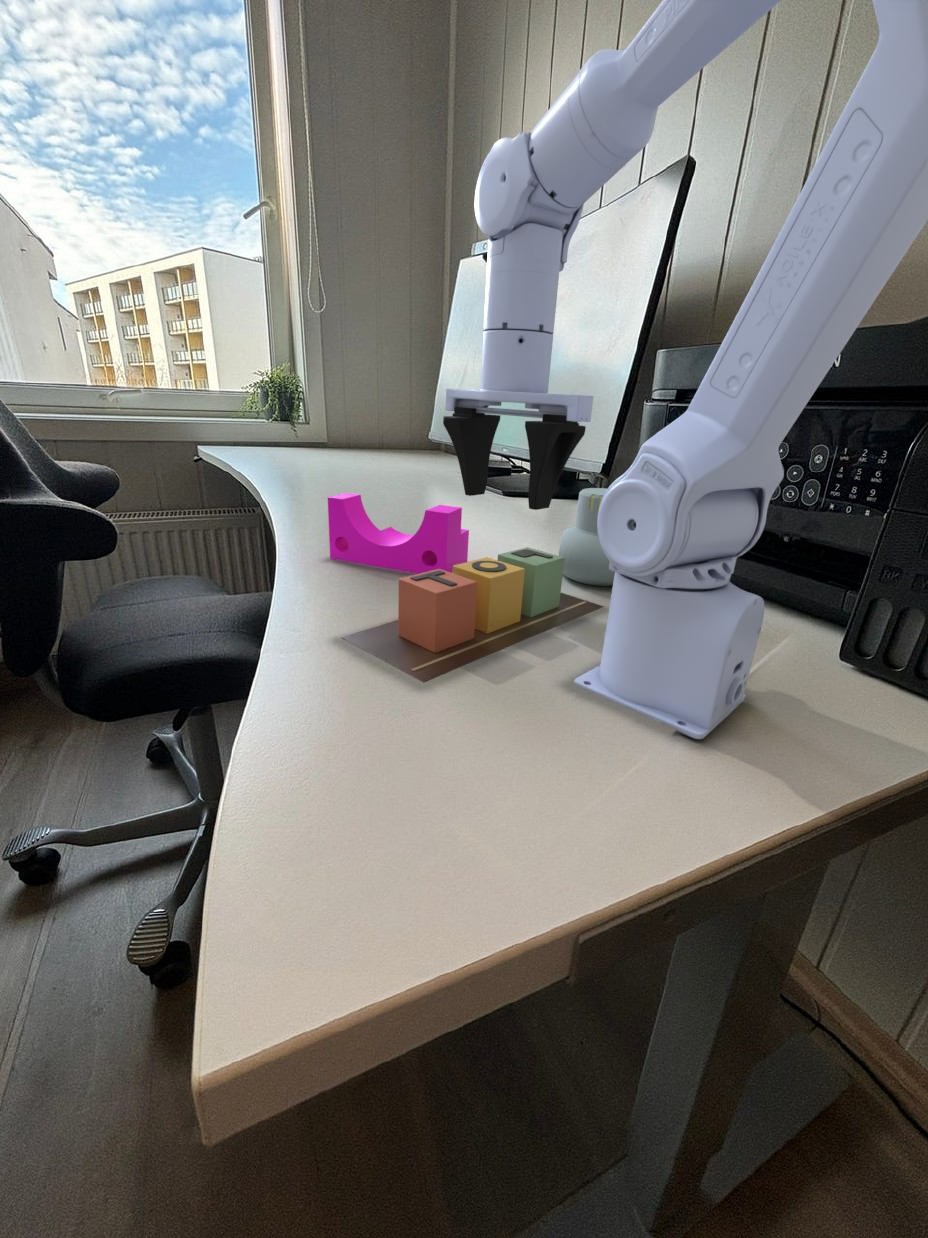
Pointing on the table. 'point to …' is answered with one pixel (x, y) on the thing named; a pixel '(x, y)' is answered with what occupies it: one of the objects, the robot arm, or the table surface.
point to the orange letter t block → (437, 609)
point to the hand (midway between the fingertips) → (505, 501)
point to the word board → (432, 665)
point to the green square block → (537, 578)
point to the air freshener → (586, 543)
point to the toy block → (396, 538)
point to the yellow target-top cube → (494, 592)
